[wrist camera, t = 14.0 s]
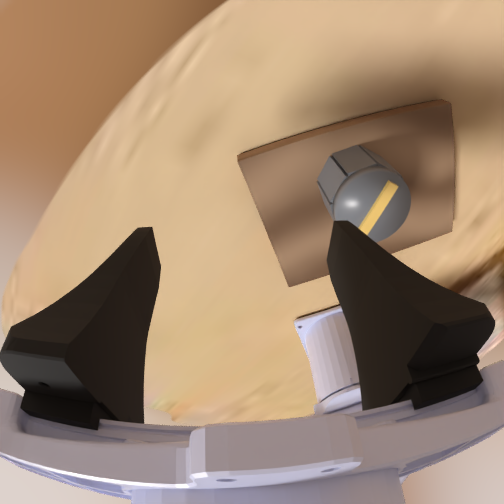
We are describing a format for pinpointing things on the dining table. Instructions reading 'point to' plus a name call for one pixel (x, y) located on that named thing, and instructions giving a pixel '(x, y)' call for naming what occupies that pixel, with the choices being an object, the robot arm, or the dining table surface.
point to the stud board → (322, 146)
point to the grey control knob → (364, 192)
